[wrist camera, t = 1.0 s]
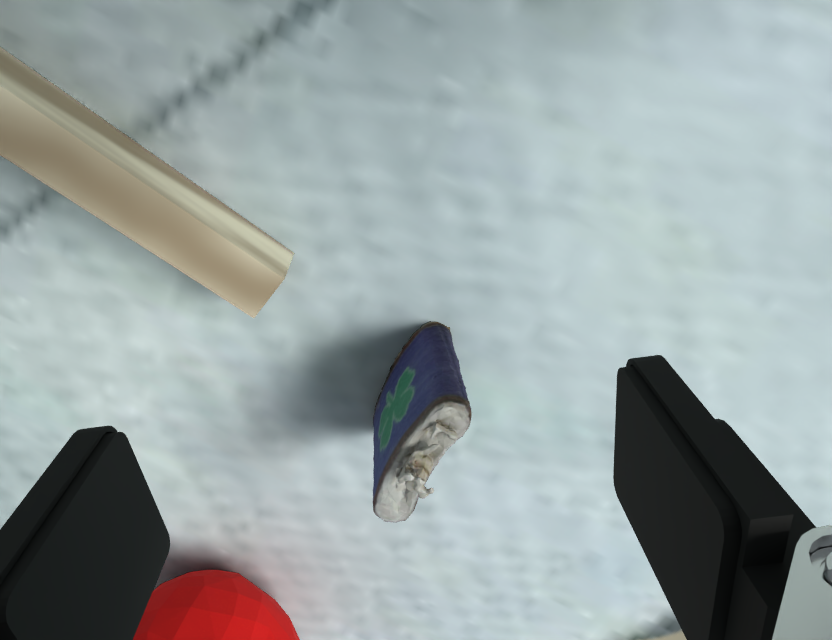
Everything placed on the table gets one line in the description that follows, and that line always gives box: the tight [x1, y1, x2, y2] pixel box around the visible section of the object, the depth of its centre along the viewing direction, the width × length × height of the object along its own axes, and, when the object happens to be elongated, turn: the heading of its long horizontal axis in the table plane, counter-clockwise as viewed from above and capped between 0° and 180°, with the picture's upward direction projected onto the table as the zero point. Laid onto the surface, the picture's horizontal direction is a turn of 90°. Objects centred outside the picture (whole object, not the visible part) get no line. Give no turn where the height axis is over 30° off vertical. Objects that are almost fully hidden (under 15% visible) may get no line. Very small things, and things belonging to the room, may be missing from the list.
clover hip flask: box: [373, 321, 471, 522], centre depth 35 cm, size 9×3×11 cm, turn 154°
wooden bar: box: [0, 47, 294, 318], centre depth 31 cm, size 3×22×4 cm, turn 51°
